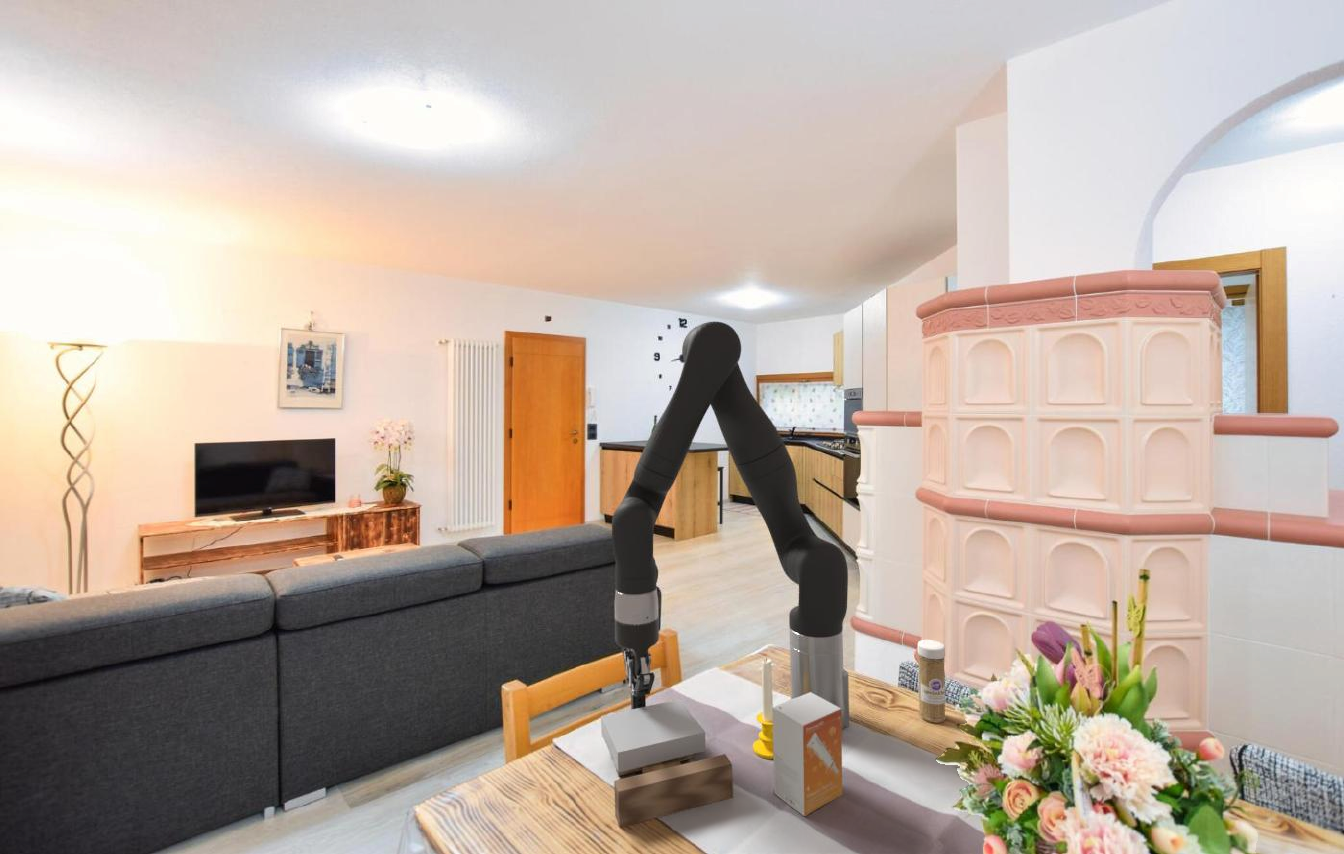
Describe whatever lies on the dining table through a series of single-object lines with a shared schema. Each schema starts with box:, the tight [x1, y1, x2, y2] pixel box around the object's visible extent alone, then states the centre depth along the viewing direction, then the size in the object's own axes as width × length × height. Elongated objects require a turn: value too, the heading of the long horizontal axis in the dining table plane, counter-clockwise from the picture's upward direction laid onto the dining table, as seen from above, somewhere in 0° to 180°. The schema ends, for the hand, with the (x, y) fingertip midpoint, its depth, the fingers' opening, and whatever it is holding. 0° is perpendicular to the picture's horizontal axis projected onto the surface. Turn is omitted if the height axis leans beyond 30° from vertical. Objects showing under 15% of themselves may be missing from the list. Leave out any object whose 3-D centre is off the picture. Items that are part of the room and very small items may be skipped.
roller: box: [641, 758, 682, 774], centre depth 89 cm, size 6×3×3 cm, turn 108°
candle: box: [752, 657, 774, 760], centre depth 96 cm, size 5×5×16 cm
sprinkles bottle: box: [917, 639, 947, 724], centre depth 104 cm, size 5×5×14 cm
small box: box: [772, 692, 843, 817], centre depth 85 cm, size 8×6×13 cm
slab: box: [600, 698, 706, 774], centre depth 93 cm, size 14×11×3 cm
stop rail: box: [613, 753, 734, 828], centre depth 83 cm, size 17×2×5 cm, turn 109°
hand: (638, 712), depth 100 cm, fingers closed
